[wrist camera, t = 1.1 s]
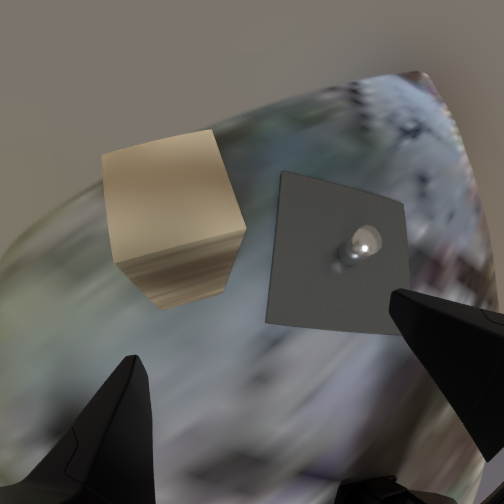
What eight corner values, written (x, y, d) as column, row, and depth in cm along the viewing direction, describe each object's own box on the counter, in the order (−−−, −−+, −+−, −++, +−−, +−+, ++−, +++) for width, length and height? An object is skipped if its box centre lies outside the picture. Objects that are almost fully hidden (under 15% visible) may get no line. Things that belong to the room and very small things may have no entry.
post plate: (405, 335, 24) (433, 330, 20) (264, 323, 23) (278, 317, 19) (400, 206, 29) (421, 188, 25) (280, 174, 27) (292, 148, 23)
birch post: (222, 293, 23) (246, 228, 11) (161, 310, 21) (114, 263, 9) (204, 236, 24) (211, 129, 12) (147, 251, 23) (101, 155, 11)
